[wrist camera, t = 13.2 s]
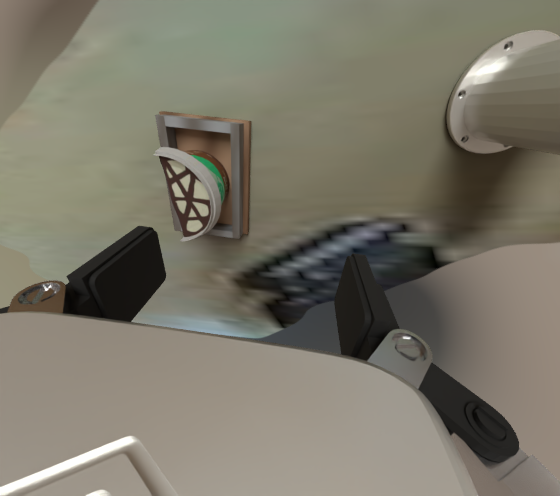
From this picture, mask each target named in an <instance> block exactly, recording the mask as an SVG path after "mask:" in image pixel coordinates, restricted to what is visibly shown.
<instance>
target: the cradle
mask: <svg viewBox="0 0 560 496" xmlns="http://www.w3.org/2000/svg"><path fill="white" fill-rule="evenodd" d="M159 113H160V115H155V116H156V122H157V128H158V134H159V140H160V146H161V147H169V148H174V149H178V150H180V151H188V150H199V151H203V152H206V153H209V154H210V155H212V156H214V157H215V158H216V159H217V160H219V161H220V162H221V164H222V165H223V166H224V168H225V170H226V171H227V174H228V177H229V183H230V186H229V192H228V194H227V197H226V199H225V200H224V202H223V204H222V205H221V212H220V216H219V219H218V221H217V223H216V224H215V226H214V227H213V228H212V229H211V230H210V231H208V232H207V233H205V234H206V235H213V236H221V237H229V238H237V239H240V237H241V235H242V234H248V232H249V194H250V148H251V121H245V120H236V119H227V118H218V117H209V116H200V115H191V114H182V113H173V112H164V111H163V112H159ZM166 182H167V180H166ZM167 188H168V184H167ZM168 194H169V199H170V205H171V211H172V217H173V223H174V229H175V231H182V228H181V225H180V222H179V218H178V216H177V213H176V211H175V209H174V206H173V204H172V201H171V197H170V193H169V188H168Z"/></svg>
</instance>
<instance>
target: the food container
mask: <svg viewBox="0 0 560 496" xmlns="http://www.w3.org/2000/svg"><path fill="white" fill-rule="evenodd" d="M155 152H156V154H153V156H159V158H160V162H161V164H162V167H163V169H164V173H165V176H166V180H167V184H168V188H169V193H170V197H171V201H172V204H173V206H174V209H175V211H176V213H177V216H178V218H179V222H180V225H181V228H182V231H183V235H184V237H183V238H182V240H181V241H188V240H192V239H196V238H198V237H200V236H202V235H204V234H205V233H207V232H208V231H210V230H211V229H212V228H213V227H214V226H215V224H216V223H217V221H218V219H219V216H220V212H221V205H222V204H223V202H224V200H225V199H226V197H227V194H228V192H229V186H230V183H229V177H228V174H227V171H226V170H225V168H224V166H223V165H222V164H221V162H220V161H219V160H217V159H216V158H215V157H214V156H212V155H210V154H209V153H206V152H203V151H199V150H188V151H180V150H178V149H174V148H169V147H160V148H159V149H158V150H156V151H155Z"/></svg>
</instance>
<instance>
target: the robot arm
mask: <svg viewBox="0 0 560 496" xmlns="http://www.w3.org/2000/svg"><path fill="white" fill-rule="evenodd" d="M504 46H505V48H504ZM459 93H460V95H459V97H458V94H459ZM446 119H447V128H448V131H449V134H450V136H451V138H452V139H453V141H454V142H455V143H456V144H457V145H458V146H460V147H461V148H463V149H465V150H467V151H471V152H474V153H482V154H487V153H496V152H500V151H504V150H506V149H509V148H511V147H520V148H525V149H530V150H536V151H541V152H547V153H552V154H557V155H560V36H558V35H557V34H555V33H553V32H548V31H544V30H532V31H527V32H523V33H518V34H516V35H513V36H510V37H508V38H505V39H503V40H501V41H500V42H498V43H496V44H494V45H492V46H491V47H490V48H488V49H487V50H486V51H484V52H483V53H482V54H481V55H480V56H478V57H477V58H476V59H475V60H474V61H473V62H472V63H471V64H470V66H469V67H468V68H467V69H466V71H465V72H464V73H463V74H462V76H461V77H460V79H459V81H458V82H457V84H456V86H455V88H454V90H453V92H452V95H451V97H450V100H449V104H448V108H447V117H446ZM462 137H463V139H462ZM461 139H462V140H461ZM67 278H68V280H69V283H68V284H66V285H65V284H64V283H63V282H61V281H57V280H56V281H44V282H40V283H37V284H34V285H31V286H29V287H27V288H25V289H23V290H21V291H20V292H18V293H17V294H16V295H15V296H14V297H13V299H12V301H11V304H10V306H8V307H5V308H2V309H0V496H560V481H559V480H557V478H555V476H554V475H553V474H551V472H550V471H549V470H548V469H546V467H545V466H544V465H542V464H541V463H540V462H539V461H538V460H537V459H536V458H535V457H534V456H533V455H531V456H529V457H528V456H527V455H526V454H525V453H524V452H523V451H522V450H521V449H520V448H519V441H518V438H517V436H516V433H515V432H514V430H513V428H512V427H511V425H510V424H509V423H508V422H507V420H506V419H505V418H504V417H503V416H502V415H501V414H500V413H499V412H498V411H496V410H495V409H494V408H493V407H491V406H490V405H489V404H487V403H486V402H485V401H483V400H482V399H480V398H479V397H478V396H477V395H475V394H474V393H472V392H471V391H470V390H468V389H467V388H466V387H464V386H463V385H461V384H460V383H459V382H457V381H456V380H455V379H453V378H452V377H450V376H449V375H448V374H447V373H445V372H444V371H442V370H441V369H440V368H439V367H437V366H436V365H434V364H433V363H432V358H433V356H432V352H431V350H430V348H429V346H428V345H427V344H426V343H425V342H424V340H423V339H421V338H420V337H419V336H417V335H416V334H414V333H412V332H410V331H407V330H403V329H399V326H398V324H397V322H396V319H395V317H394V314H393V312H392V310H391V307H390V305H389V302H388V300H387V298H386V295H385V293H384V290H383V288H382V286H381V285H379V284H376V281H375V279H374V276H373V274H372V271H371V268H370V266H369V263H368V261H367V258H366V256H365V255H359V254H352V255H351V256H348V257H347V259H346V262H345V266H344V269H343V272H342V276H341V279H340V283H339V286H338V289H337V293H336V296H335V311H336V318H337V326H338V333H339V340H340V347H341V354H342V355H341V354H336V353H331V352H326V351H320V350H314V349H308V348H302V347H296V346H290V345H283V344H277V343H270V342H264V341H257V340H251V339H244V338H237V337H231V336H224V335H217V334H210V333H204V332H197V331H190V330H183V329H176V328H169V327H162V326H155V325H148V324H141V323H134V322H131V321H132V320H133V318H134V317H135V316H136V315H137V314H138V312H139V311H140V310H141V309H142V307H143V306H144V305H145V304H146V303H147V301H148V300H149V299H150V298H151V297H152V295H153V294H154V293H155V292H156V290H157V289H158V288H159V287H160V286H161V284H162V283H163V282H164V281H165V278H166V272H165V267H164V263H163V258H162V253H161V249H160V244H159V239H158V235H157V232H156V231H154V229H153V228H151V227H144V226H138V227H136V228H135V229H133V230H132V231H131V232H129V233H128V234H126V235H125V236H123V237H122V238H121V239H119V240H118V241H116V242H115V243H113V244H112V245H111V246H109V247H108V248H106V249H105V250H103V251H102V252H101V253H99V254H98V255H96V256H95V257H93V258H92V259H91V260H89V261H88V262H86V263H85V264H83V265H82V266H81V267H79V268H78V269H76V270H75V271H74V272H72V273H71V274H69V275H68V276H67Z"/></svg>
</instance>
